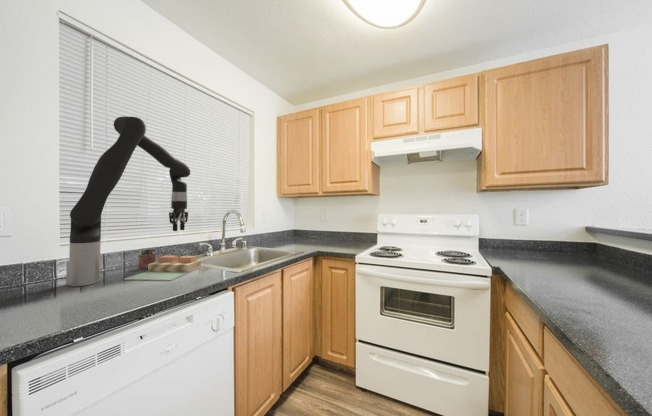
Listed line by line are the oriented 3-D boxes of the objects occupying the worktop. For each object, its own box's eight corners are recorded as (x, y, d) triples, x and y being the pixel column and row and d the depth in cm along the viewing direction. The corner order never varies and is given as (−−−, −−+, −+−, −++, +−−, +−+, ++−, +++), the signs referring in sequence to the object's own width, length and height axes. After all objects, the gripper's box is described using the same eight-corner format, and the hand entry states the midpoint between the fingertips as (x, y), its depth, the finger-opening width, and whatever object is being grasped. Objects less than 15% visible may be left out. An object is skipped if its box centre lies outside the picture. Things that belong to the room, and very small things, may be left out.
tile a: (158, 262, 127) (158, 257, 127) (165, 260, 132) (165, 255, 132) (172, 262, 127) (172, 257, 127) (178, 260, 132) (178, 255, 132)
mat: (123, 280, 108) (123, 278, 108) (146, 272, 121) (146, 271, 121) (170, 280, 108) (171, 279, 108) (188, 273, 121) (188, 272, 121)
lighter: (139, 270, 126) (140, 250, 126) (137, 269, 128) (137, 249, 128) (157, 267, 133) (157, 248, 133) (154, 266, 135) (155, 248, 135)
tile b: (177, 262, 127) (177, 257, 127) (183, 260, 132) (183, 255, 132) (191, 262, 127) (191, 257, 127) (196, 260, 132) (196, 256, 132)
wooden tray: (147, 272, 122) (148, 264, 122) (164, 266, 134) (164, 259, 134) (187, 273, 121) (187, 265, 121) (200, 267, 133) (200, 260, 133)
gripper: (180, 200, 145) (180, 229, 145) (164, 199, 131) (163, 231, 131) (193, 201, 145) (192, 229, 145) (177, 200, 131) (177, 231, 130)
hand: (178, 230), depth 138 cm, fingers open, 5 cm apart
